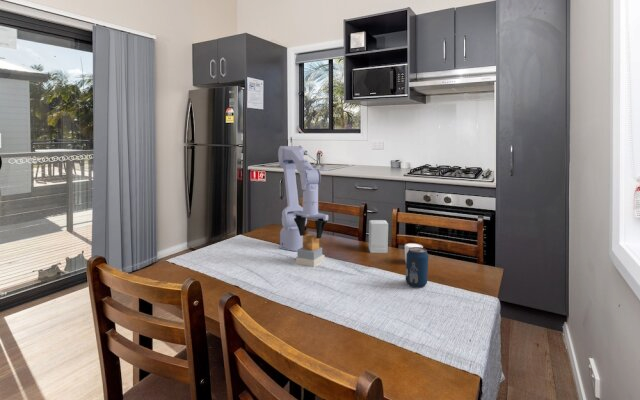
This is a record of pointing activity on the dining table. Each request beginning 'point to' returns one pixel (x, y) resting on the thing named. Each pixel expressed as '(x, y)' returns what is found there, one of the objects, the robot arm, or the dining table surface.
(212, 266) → the dining table surface
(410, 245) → the white cylinder
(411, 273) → the soda can
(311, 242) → the orange block
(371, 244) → the supplement box
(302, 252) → the slate top block
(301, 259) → the cream base block
